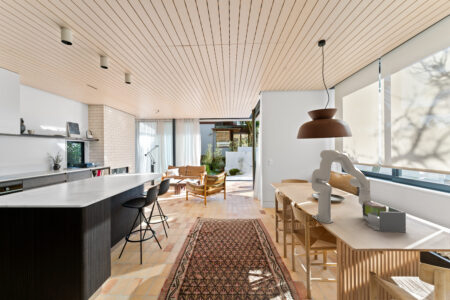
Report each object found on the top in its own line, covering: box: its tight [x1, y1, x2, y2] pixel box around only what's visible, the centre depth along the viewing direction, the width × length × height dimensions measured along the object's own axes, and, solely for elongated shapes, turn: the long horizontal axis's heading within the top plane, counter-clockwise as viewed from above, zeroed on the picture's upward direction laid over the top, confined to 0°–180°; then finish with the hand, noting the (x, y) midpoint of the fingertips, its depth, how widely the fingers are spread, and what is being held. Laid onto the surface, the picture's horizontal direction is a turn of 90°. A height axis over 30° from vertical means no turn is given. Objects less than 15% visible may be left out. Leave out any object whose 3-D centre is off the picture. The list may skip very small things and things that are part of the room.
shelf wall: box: [379, 206, 407, 233], centre depth 145 cm, size 17×14×14 cm
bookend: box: [364, 213, 381, 232], centre depth 146 cm, size 4×13×9 cm, turn 176°
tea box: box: [362, 201, 387, 222], centre depth 158 cm, size 15×10×15 cm
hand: (365, 212), depth 169 cm, fingers closed
